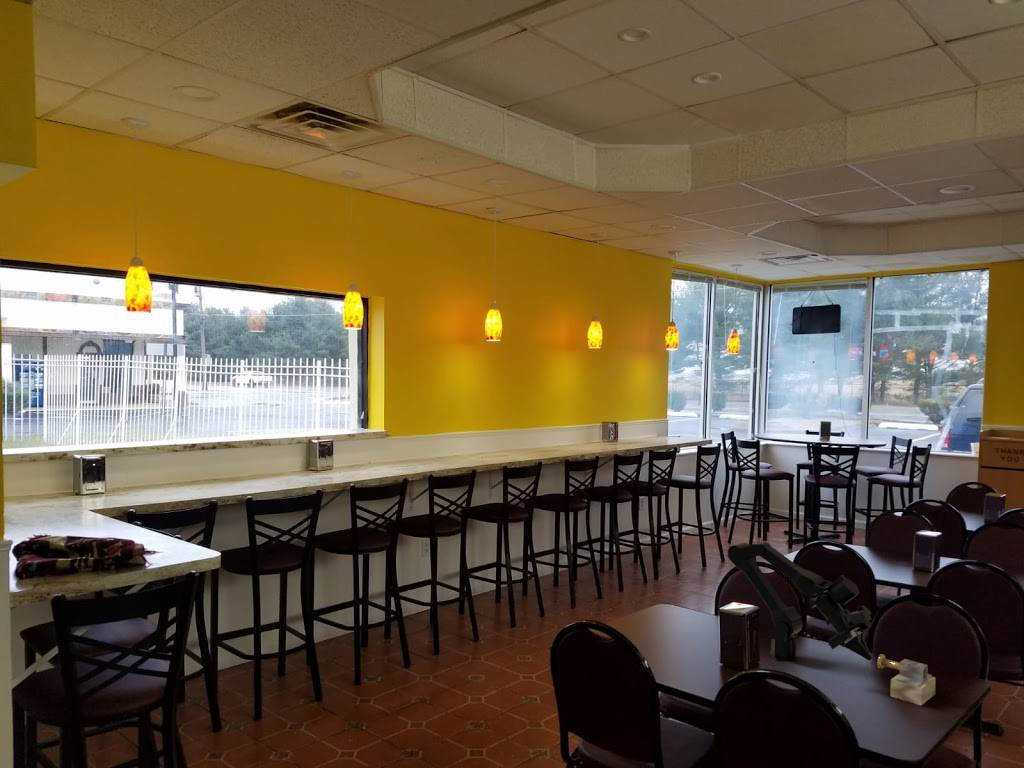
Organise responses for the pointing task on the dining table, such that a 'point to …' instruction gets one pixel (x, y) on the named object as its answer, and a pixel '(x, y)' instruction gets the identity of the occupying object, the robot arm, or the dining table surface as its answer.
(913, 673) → the hinge block
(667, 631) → the dining table surface
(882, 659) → the pin
